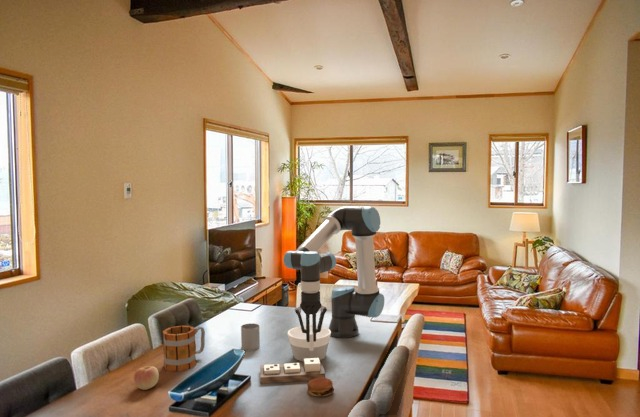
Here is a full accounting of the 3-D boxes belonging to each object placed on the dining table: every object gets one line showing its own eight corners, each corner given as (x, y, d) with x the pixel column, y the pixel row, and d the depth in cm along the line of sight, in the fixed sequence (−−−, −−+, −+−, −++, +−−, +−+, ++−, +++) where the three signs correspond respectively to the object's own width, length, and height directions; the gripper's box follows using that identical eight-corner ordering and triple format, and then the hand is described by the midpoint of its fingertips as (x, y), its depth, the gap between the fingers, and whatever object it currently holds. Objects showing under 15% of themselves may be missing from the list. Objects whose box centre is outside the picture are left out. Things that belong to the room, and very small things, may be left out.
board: (321, 367, 199) (321, 361, 199) (325, 379, 187) (325, 373, 187) (260, 371, 196) (260, 365, 196) (260, 383, 184) (260, 377, 184)
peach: (135, 394, 176) (134, 373, 176) (134, 385, 184) (133, 364, 184) (160, 390, 180) (159, 369, 179) (158, 381, 188) (157, 361, 187)
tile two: (299, 371, 195) (298, 362, 195) (300, 377, 189) (300, 367, 189) (284, 372, 194) (284, 363, 194) (285, 378, 188) (284, 368, 188)
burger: (302, 391, 178) (302, 378, 177) (323, 384, 183) (323, 372, 182) (317, 401, 169) (317, 388, 169) (338, 394, 175) (338, 381, 174)
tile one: (318, 366, 196) (318, 357, 196) (320, 372, 190) (320, 362, 190) (303, 367, 195) (303, 358, 195) (305, 373, 189) (305, 363, 189)
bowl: (336, 350, 219) (336, 327, 218) (323, 366, 200) (322, 341, 200) (297, 346, 225) (297, 323, 224) (280, 361, 207) (280, 336, 206)
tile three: (279, 372, 194) (279, 363, 194) (279, 378, 188) (279, 369, 188) (264, 373, 193) (264, 364, 193) (264, 379, 187) (264, 370, 187)
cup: (256, 351, 219) (255, 329, 219) (239, 349, 221) (238, 328, 220) (262, 344, 228) (261, 323, 227) (245, 343, 229) (245, 323, 229)
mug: (175, 374, 194) (174, 337, 193) (156, 366, 203) (155, 331, 202) (214, 359, 210) (213, 325, 209) (195, 352, 218) (194, 320, 217)
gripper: (325, 288, 195) (326, 345, 196) (293, 289, 194) (294, 347, 195) (328, 292, 188) (328, 351, 189) (294, 293, 186) (295, 353, 187)
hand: (311, 349), depth 192 cm, fingers closed
